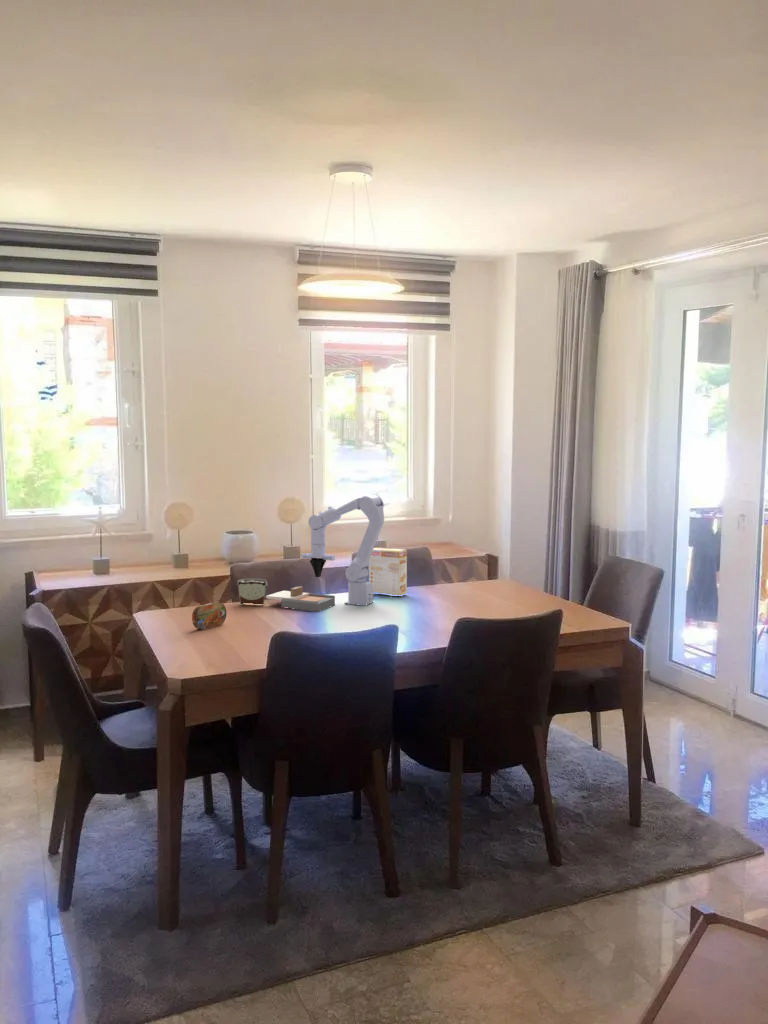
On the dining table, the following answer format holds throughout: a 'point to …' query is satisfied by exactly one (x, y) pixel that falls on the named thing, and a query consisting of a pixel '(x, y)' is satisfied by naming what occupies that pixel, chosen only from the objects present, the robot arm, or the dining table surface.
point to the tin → (209, 615)
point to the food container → (252, 590)
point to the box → (310, 602)
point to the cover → (289, 594)
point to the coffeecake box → (388, 570)
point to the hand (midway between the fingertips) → (317, 576)
